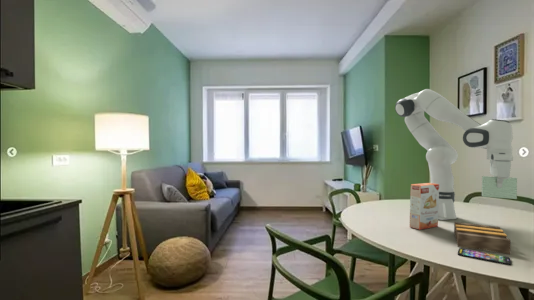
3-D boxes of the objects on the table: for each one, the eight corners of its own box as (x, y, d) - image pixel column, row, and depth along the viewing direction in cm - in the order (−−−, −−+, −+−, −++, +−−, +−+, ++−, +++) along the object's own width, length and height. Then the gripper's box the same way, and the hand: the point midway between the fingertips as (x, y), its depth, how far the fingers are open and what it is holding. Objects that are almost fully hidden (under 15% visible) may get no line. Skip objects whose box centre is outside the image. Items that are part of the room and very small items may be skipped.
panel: (482, 196, 131) (482, 176, 131) (481, 195, 133) (482, 176, 133) (516, 198, 126) (517, 178, 125) (515, 198, 127) (515, 177, 127)
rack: (457, 246, 114) (458, 233, 114) (454, 232, 131) (454, 221, 131) (510, 254, 106) (510, 239, 106) (498, 238, 124) (499, 226, 123)
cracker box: (420, 230, 135) (421, 185, 134) (408, 227, 140) (409, 184, 140) (439, 226, 141) (439, 183, 141) (427, 223, 147) (428, 182, 146)
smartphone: (511, 264, 96) (457, 253, 105) (511, 267, 96) (457, 256, 105) (510, 257, 102) (458, 247, 111) (510, 259, 102) (458, 250, 111)
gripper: (486, 154, 140) (485, 183, 140) (494, 156, 122) (494, 189, 122) (503, 155, 137) (502, 184, 137) (514, 156, 119) (513, 190, 119)
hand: (498, 186), depth 129 cm, fingers closed on panel, 2 cm apart
